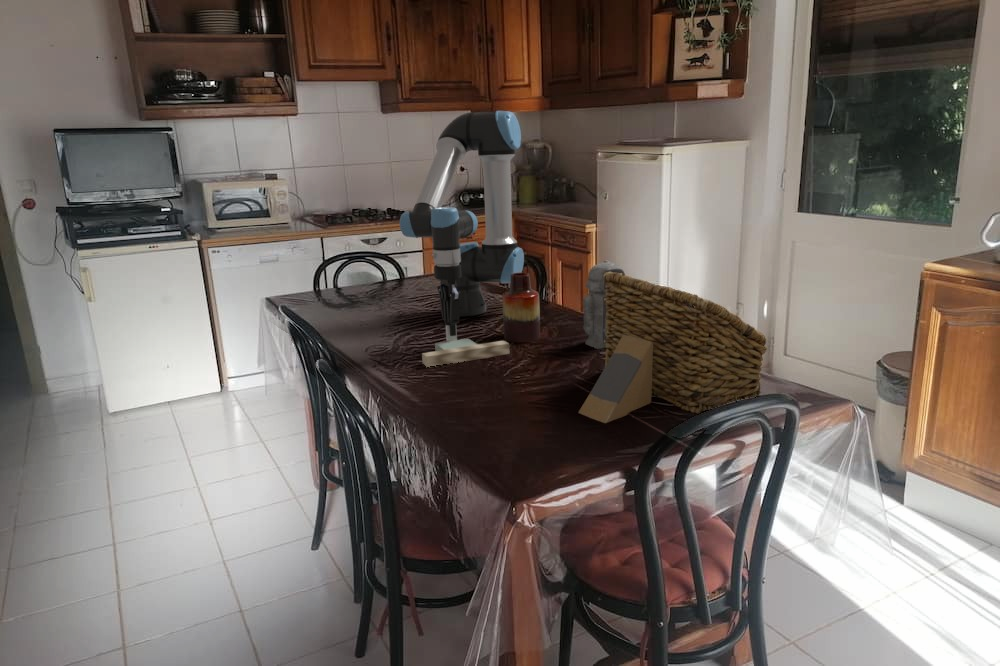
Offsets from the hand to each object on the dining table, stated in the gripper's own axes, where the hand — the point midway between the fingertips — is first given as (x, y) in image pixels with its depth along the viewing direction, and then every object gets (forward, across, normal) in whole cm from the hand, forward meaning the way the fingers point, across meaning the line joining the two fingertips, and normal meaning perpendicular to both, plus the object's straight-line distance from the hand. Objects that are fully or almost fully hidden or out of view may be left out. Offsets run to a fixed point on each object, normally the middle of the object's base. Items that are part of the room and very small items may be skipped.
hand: (452, 345), depth 204 cm
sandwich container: (+2, +61, +15) cm, 63 cm away
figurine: (+2, +18, +40) cm, 44 cm away
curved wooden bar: (+2, +11, 0) cm, 12 cm away
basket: (+2, +55, +39) cm, 67 cm away
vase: (+2, 0, +22) cm, 22 cm away
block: (+2, +5, 0) cm, 5 cm away
